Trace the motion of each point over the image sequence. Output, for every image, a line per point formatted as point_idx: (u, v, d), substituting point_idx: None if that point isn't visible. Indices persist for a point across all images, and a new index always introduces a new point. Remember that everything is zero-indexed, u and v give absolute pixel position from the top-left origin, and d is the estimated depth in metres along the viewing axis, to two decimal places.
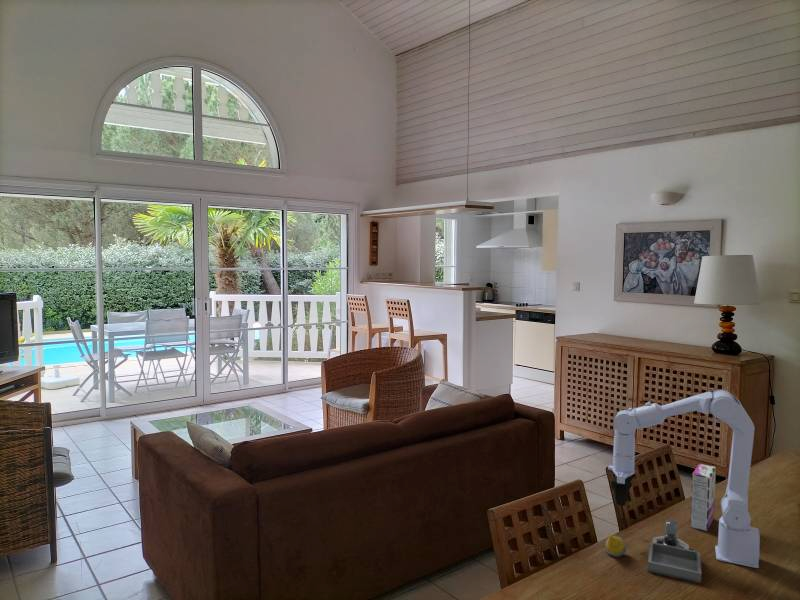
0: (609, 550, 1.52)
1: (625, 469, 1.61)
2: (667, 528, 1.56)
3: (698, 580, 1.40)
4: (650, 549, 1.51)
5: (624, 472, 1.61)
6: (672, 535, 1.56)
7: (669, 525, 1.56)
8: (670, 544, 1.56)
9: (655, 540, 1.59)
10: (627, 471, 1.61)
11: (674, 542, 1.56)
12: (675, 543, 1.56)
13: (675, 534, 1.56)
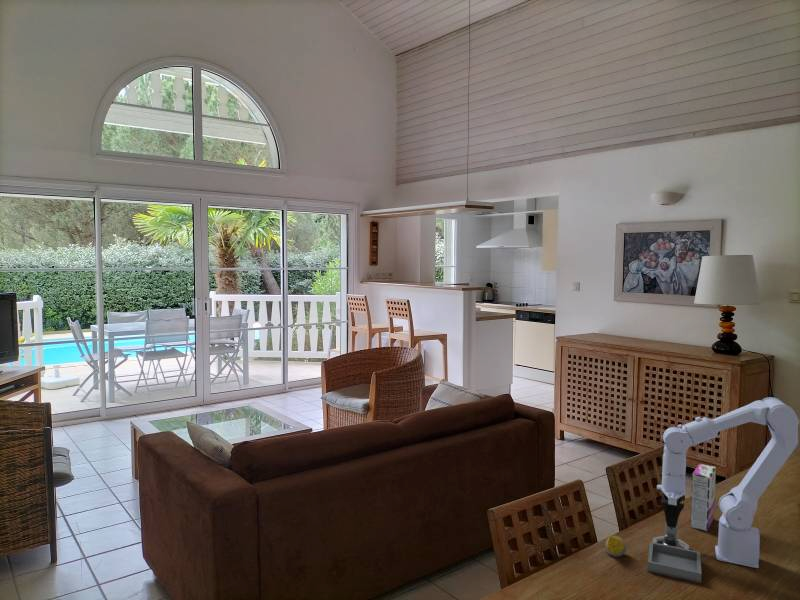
0: (609, 550, 1.52)
1: (675, 490, 1.54)
2: (667, 528, 1.56)
3: (698, 580, 1.40)
4: (650, 549, 1.51)
5: (675, 492, 1.54)
6: (672, 535, 1.56)
7: None
8: (670, 544, 1.56)
9: (655, 540, 1.59)
10: (678, 491, 1.54)
11: (674, 542, 1.56)
12: (675, 543, 1.56)
13: (675, 534, 1.56)
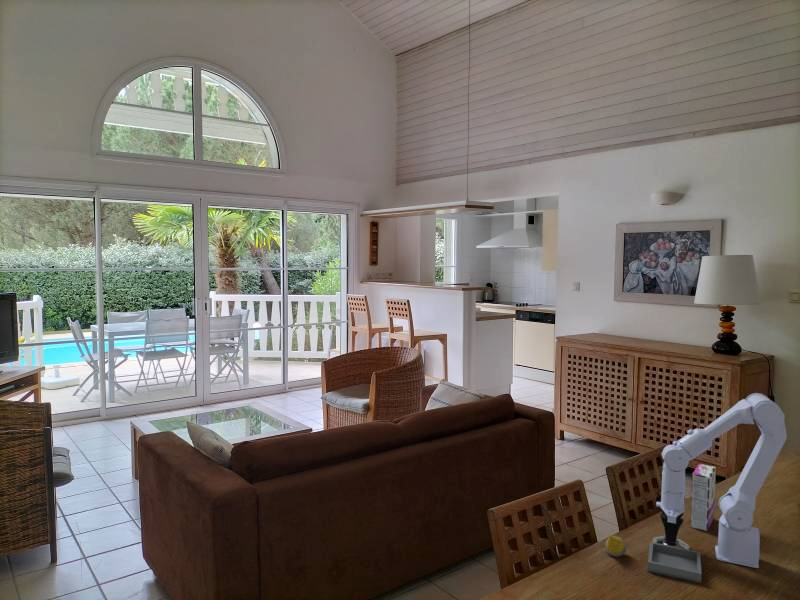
0: (609, 550, 1.52)
1: (675, 507, 1.54)
2: None
3: (698, 580, 1.40)
4: (650, 549, 1.51)
5: (674, 510, 1.54)
6: None
7: None
8: (670, 544, 1.56)
9: (655, 540, 1.59)
10: (677, 509, 1.54)
11: (674, 542, 1.56)
12: (675, 543, 1.56)
13: None
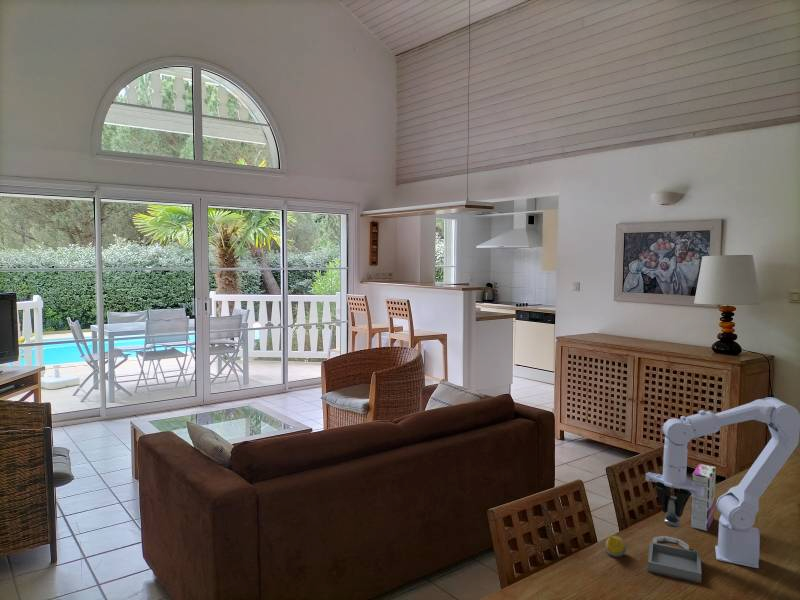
0: (609, 550, 1.52)
1: (685, 480, 1.53)
2: (675, 505, 1.53)
3: (698, 580, 1.40)
4: (650, 549, 1.51)
5: (686, 483, 1.52)
6: None
7: None
8: (677, 520, 1.54)
9: (655, 540, 1.59)
10: (685, 481, 1.53)
11: None
12: None
13: None
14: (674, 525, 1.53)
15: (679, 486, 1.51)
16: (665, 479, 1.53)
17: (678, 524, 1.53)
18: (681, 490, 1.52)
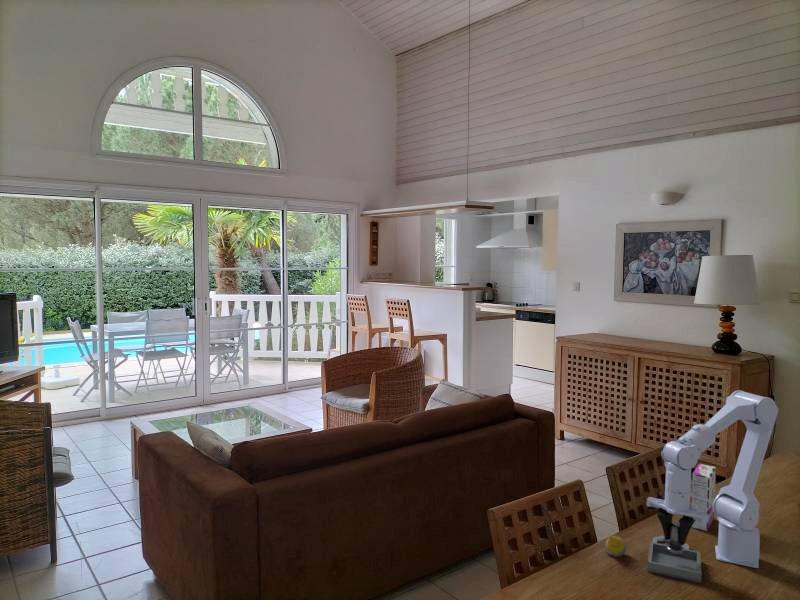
0: (609, 550, 1.52)
1: None
2: (679, 533, 1.46)
3: (698, 580, 1.40)
4: (650, 549, 1.51)
5: (689, 509, 1.45)
6: None
7: None
8: (681, 548, 1.46)
9: (655, 540, 1.59)
10: (689, 507, 1.46)
11: None
12: None
13: None
14: (678, 554, 1.45)
15: (682, 513, 1.43)
16: (667, 505, 1.46)
17: (682, 552, 1.46)
18: (684, 517, 1.44)
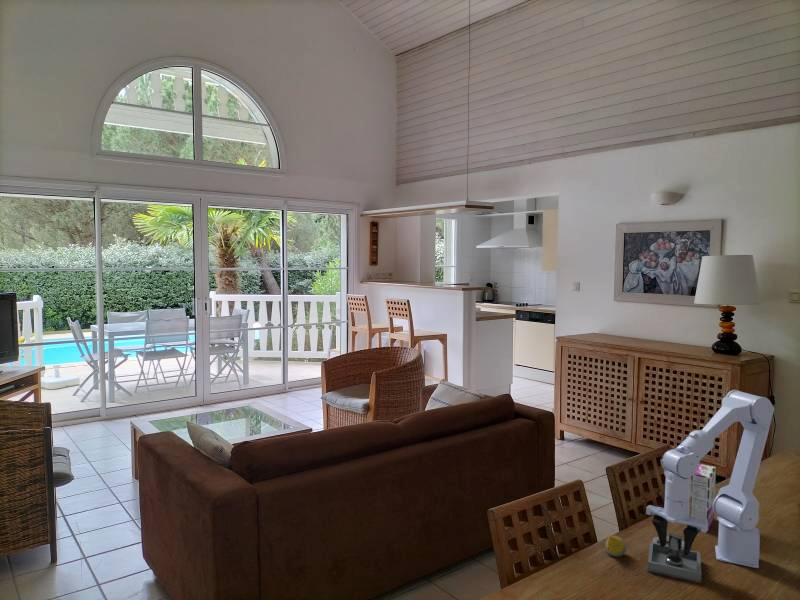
0: (609, 550, 1.52)
1: (688, 515, 1.45)
2: (678, 545, 1.46)
3: (698, 580, 1.40)
4: (650, 549, 1.51)
5: (689, 518, 1.45)
6: (681, 549, 1.47)
7: (680, 540, 1.46)
8: (680, 559, 1.47)
9: (655, 540, 1.59)
10: (688, 515, 1.46)
11: None
12: None
13: None
14: (678, 565, 1.46)
15: (682, 522, 1.43)
16: (667, 514, 1.46)
17: (681, 564, 1.46)
18: None
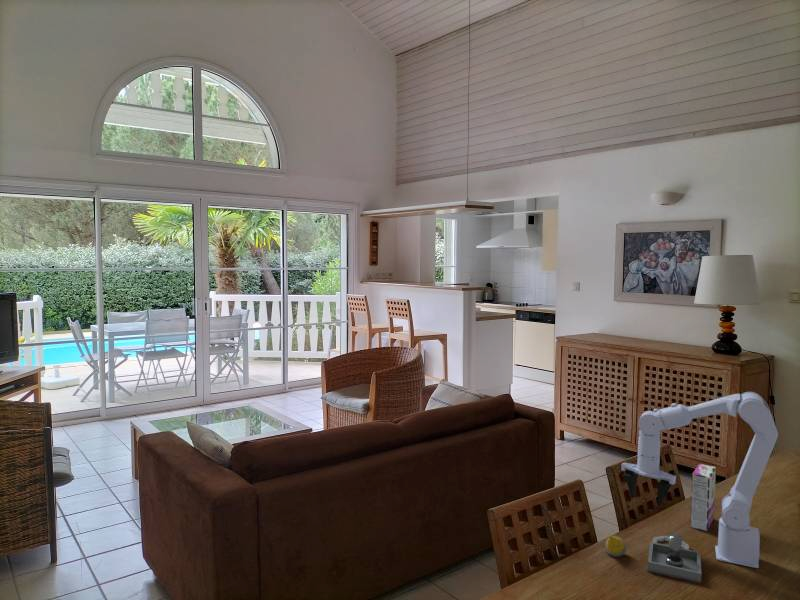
0: (609, 550, 1.52)
1: None
2: (679, 545, 1.46)
3: (698, 580, 1.40)
4: (650, 549, 1.51)
5: (659, 472, 1.60)
6: (681, 549, 1.47)
7: (680, 540, 1.46)
8: (680, 559, 1.47)
9: (655, 540, 1.59)
10: (659, 470, 1.61)
11: None
12: None
13: None
14: (678, 565, 1.46)
15: (652, 475, 1.59)
16: (639, 468, 1.61)
17: (681, 564, 1.46)
18: None
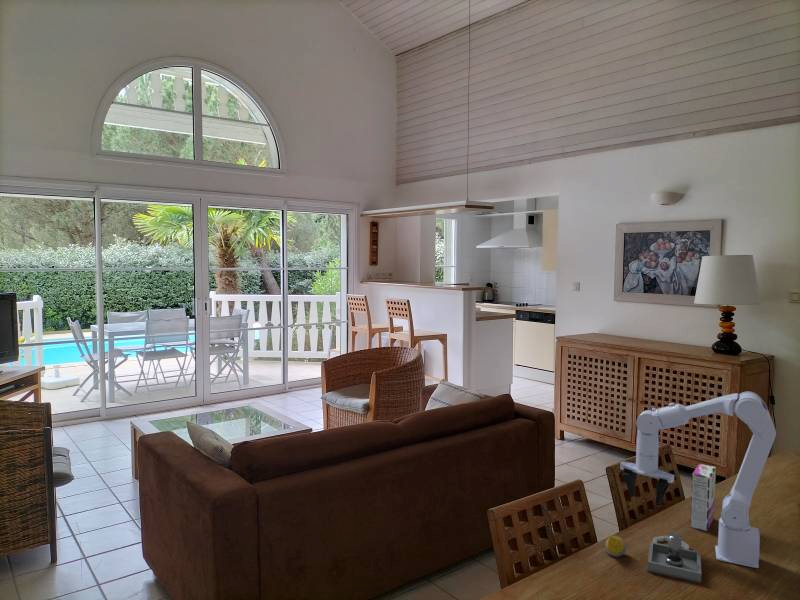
0: (609, 550, 1.52)
1: (657, 468, 1.61)
2: (678, 544, 1.46)
3: (698, 580, 1.40)
4: (650, 549, 1.51)
5: (657, 471, 1.61)
6: None
7: (680, 540, 1.46)
8: (680, 559, 1.47)
9: (655, 540, 1.59)
10: (657, 469, 1.62)
11: None
12: None
13: None
14: (678, 565, 1.46)
15: (651, 474, 1.60)
16: (638, 467, 1.62)
17: (681, 564, 1.46)
18: None
